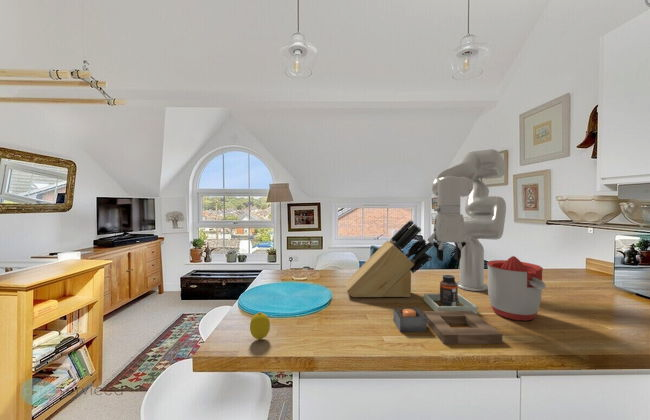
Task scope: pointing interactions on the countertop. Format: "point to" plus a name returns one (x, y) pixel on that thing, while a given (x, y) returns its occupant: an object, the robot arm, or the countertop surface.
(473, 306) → the ring
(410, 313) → the button
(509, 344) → the countertop surface
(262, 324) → the lemon
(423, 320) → the button housing
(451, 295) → the supplement bottle
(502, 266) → the citrus juicer
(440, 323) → the square frame
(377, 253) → the knife block
